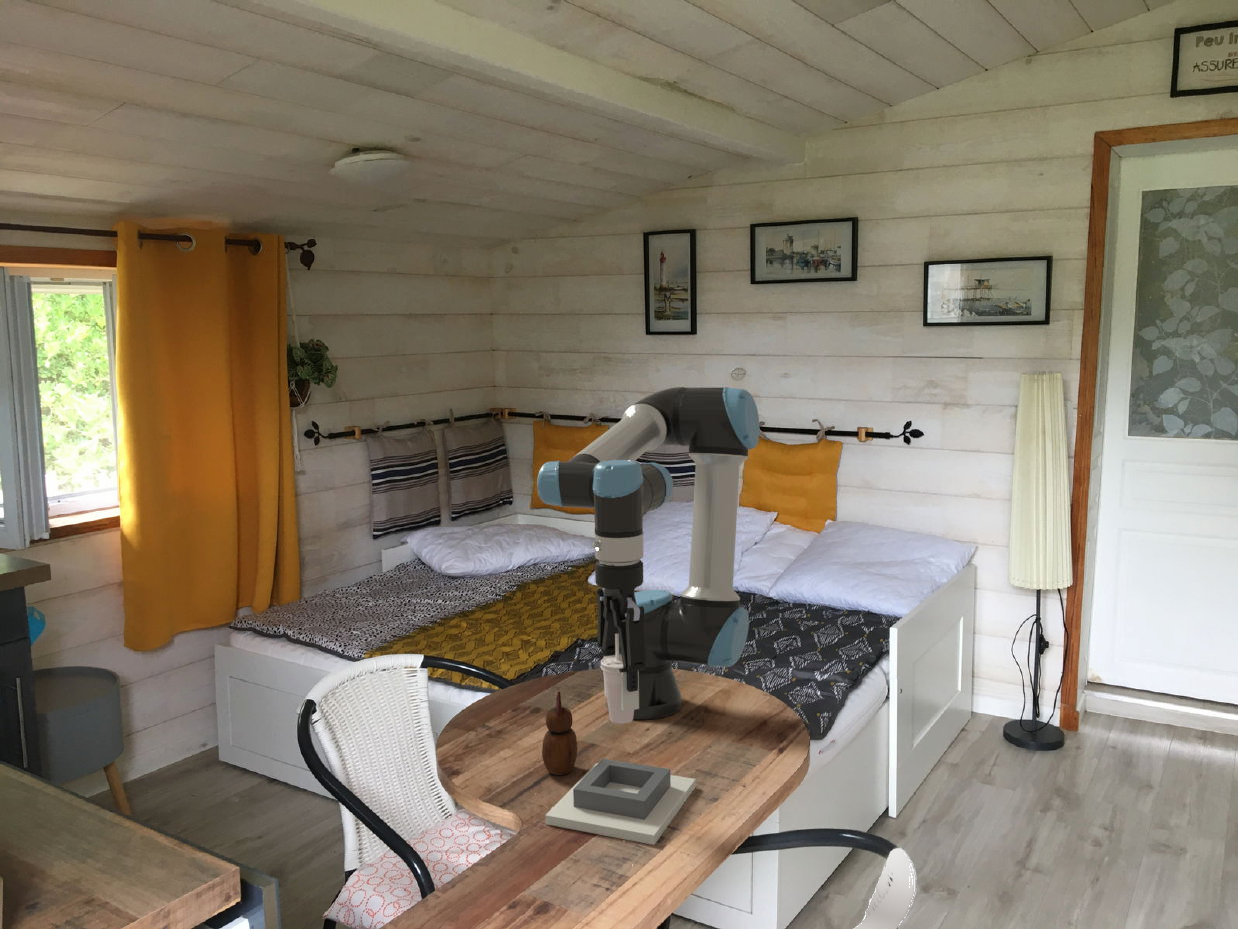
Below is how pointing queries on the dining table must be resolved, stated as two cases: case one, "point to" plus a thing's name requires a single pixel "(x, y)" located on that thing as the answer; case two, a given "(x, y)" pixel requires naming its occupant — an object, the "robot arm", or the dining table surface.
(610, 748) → the dining table surface
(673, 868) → the dining table surface
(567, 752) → the wooden figurine
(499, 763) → the dining table surface
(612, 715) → the smoothie
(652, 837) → the socket board
